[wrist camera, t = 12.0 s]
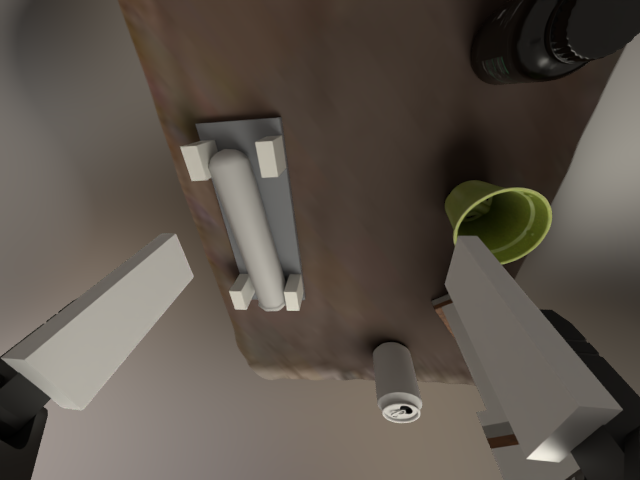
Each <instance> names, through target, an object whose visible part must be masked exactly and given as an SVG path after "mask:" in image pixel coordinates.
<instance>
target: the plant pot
mask: <svg viewBox="0 0 640 480" xmlns="http://www.w3.org/2000/svg"><path fill="white" fill-rule="evenodd" d="M487 198H489V200H488V201H486V199H487ZM445 211H446V214H447V216H448V218H449V220H450V223H451V225H452V227H453V230H454V231H453V242H454V245H456V242H457V238H458V236H478V237H479V239H480V240H481V241H482V242H483V243H484V245H485V246H486V247H487V248H488V249H489V250H490V252H491V253H492V254H493V255H494V256H495V258H496V259H497V260H498V261H499V262H500V264H501V265H502V264H506V263H509V262H512V261H515V260H517V259H519V258H521V257H523V256H525V255H527V254H528V253H529V252H531V251H532V250H533V249H535V248H536V247H537V246H538V245H539V244H540V243H541V241H542V240H543V239H544V237H545V236H546V234H547V232H548V231H549V229H550V226H551V222H552V210H551V207H550V204H549V202H548V201H547V199H546V198H545V197H544V196H542V195H541V194H540V193H538V192H536V191H534V190H531V189H528V188H523V187H509V188H503V187H499V186H496V185H493V184H489V183H486V182H483V181H478V180H471V181H467V182H464V183H461V184H460V185H458V186H456V187H455V188H454V189H453V190H452V192H451V193H450V194H449V196H448V197H447V199H446V201H445ZM472 215H475V216H474V217H472V218H469V219H466V217H468V216H472Z"/></svg>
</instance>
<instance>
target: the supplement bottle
mask: <svg viewBox="0 0 640 480" xmlns="http://www.w3.org/2000/svg"><path fill="white" fill-rule="evenodd" d="M639 33H640V0H511V1H509V2H508V3H506V4H505V5H503V6H501V7H500V8H499V9H497V10H496V11H495V12H494V13H492V14H491V15H490V16H489V17H488V19H487V20H486V21H485V22H484V24H483V25H482V26H481V28H480V30H479V31H478V33H477V35H476V38H475V40H474V43H473V47H472V53H471V62H472V67H473V70H474V72H475V74H476V75H477V76H478V78H479V79H481V80H482V81H484V82H485V83H488V84H494V85H503V84H517V83H531V82H544V81H551V80H556V79H560V78H563V77H565V76H568V75H570V74H572V73H574V72H575V71H577V70H579V69H580V68H582V67H583V66H585V65H586V64H587V63H589V62H590V61H592V60H595V59H600V58H604V57H605V56H607V55H610V54H613V53H614V52H616V51H617V50H619V49H621V48H623V47H624V46H625V45H626V44H627V43H629V42H631V41H632V39H633V38H634V37H635V36H636V35H637V34H639Z"/></svg>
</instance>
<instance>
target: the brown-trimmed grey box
mask: <svg viewBox="0 0 640 480" xmlns="http://www.w3.org/2000/svg"><path fill="white" fill-rule="evenodd" d="M431 302H432V304H433V307H434V309H435V311H436V312H437V314H438V315H439V317H440V318H441V319H442V321H443V322H444V324H445V325H446V327H447V328H448V330H449V331H450V332H451V334H452V335H453V337H454V338H455V340H456V341H457V344H458V346H459V348H460V350H461V353H462V355H463V357H464V359H465V362H466V364H467V366H468V368H469V371H470V373H471V375H472V378H473V380H474V382H475V384H476V387H477V389H478V391H479V393H480V396H481V398H482V400H483V402H484V405H485V407H486V409H487V410H486V411H481V412H477V415H478V418H479V420H480V423H481V425H482V427H483V430H484V433H485V435H486V438H487V440H488V443H489V445H490V448H491V450H492V452H493V455H494V457H495V460H496V462H497V465H498V467H499V470H500V472H501V475H502V477H503V479H504V480H565V479H566V478H568V477H569V476H571V475H572V474H573V473H575V472H576V471H577V470H579V469H580V467H579V466H578V464H577V462H576V461H575V459H574V457H573V456H572V454H571V453H570V454H569V455H568V456H566V457H565V458H564V459H563V460H562V461H560V462H550V461H541V460H532V459H526V457H525V455H524V453H523V451H522V449H521V447H520V444H519V442H518V440H517V438H516V436H515V434H514V432H513V430H512V427H511V425H510V423H509V421H508V419H507V417H506V415H505V412H504V410H503V408H502V406H501V404H500V402H499V400H498V397H497V395H496V393H495V391H494V389H493V387H492V385H491V383H490V380H489V378H488V376H487V374H486V372H485V370H484V368H483V365H482V363H481V361H480V359H479V357H478V355H477V353H476V351H475V348H474V346H473V344H472V342H471V340H470V338H469V336H468V333H467V331H466V329H465V327H464V325H463V323H462V321H461V318H460V316H459V314H458V312H457V310H456V308H455V306H454V304H453V301H452V299H451V297H450V295H449V294H448V295H445V296H443V297H440V298H438V299H435V300H433V301H431Z"/></svg>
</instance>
